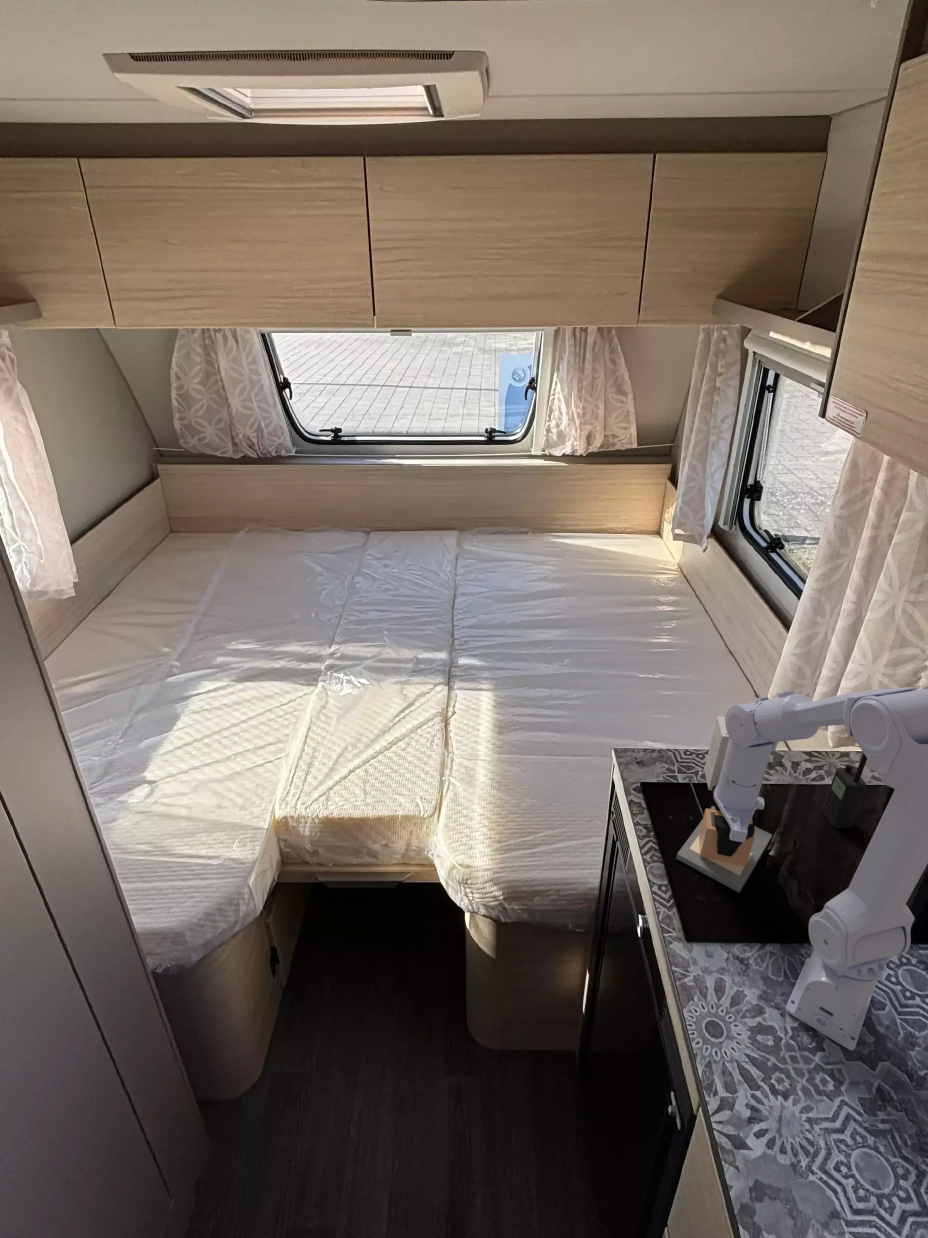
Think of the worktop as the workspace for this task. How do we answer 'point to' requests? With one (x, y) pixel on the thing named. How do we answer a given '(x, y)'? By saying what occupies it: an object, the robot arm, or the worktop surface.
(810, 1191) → the worktop surface
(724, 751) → the skincare box
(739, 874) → the board
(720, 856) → the plug housing
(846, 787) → the walkie-talkie
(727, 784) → the robot arm
